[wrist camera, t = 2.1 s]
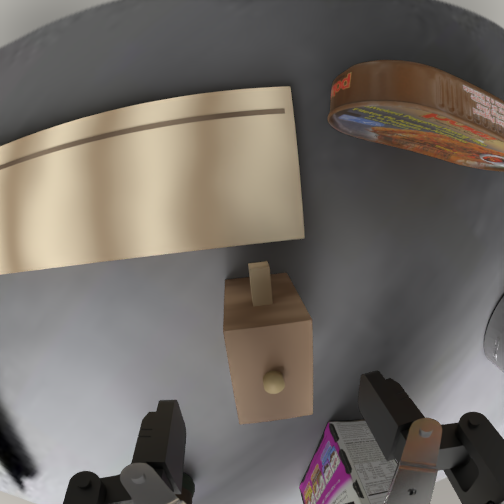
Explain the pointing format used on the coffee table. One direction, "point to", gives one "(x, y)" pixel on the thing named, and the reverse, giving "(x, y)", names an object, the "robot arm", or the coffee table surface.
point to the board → (153, 181)
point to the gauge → (268, 346)
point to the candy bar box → (347, 467)
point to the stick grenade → (186, 489)
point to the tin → (420, 112)
